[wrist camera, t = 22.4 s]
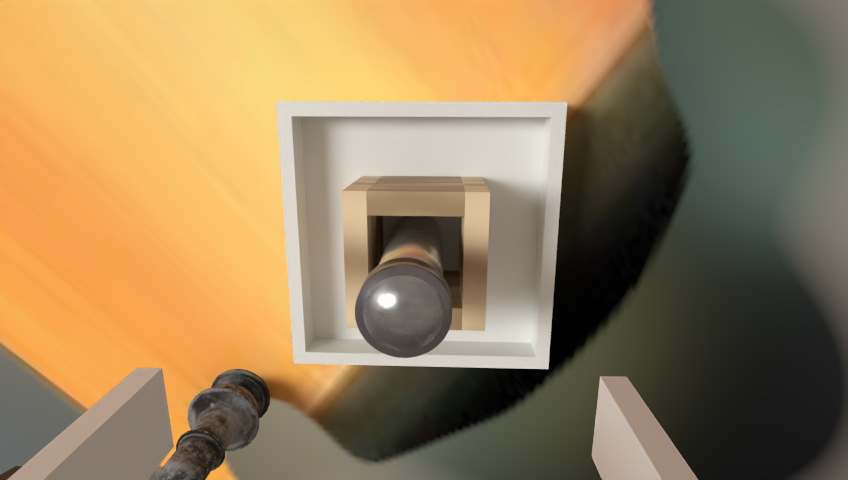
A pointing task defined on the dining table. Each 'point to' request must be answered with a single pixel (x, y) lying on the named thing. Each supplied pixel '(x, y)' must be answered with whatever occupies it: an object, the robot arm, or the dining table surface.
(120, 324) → the dining table surface
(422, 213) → the wooden box
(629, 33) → the dining table surface
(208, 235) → the dining table surface
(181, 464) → the salt shaker
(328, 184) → the tray
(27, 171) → the dining table surface
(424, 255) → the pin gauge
